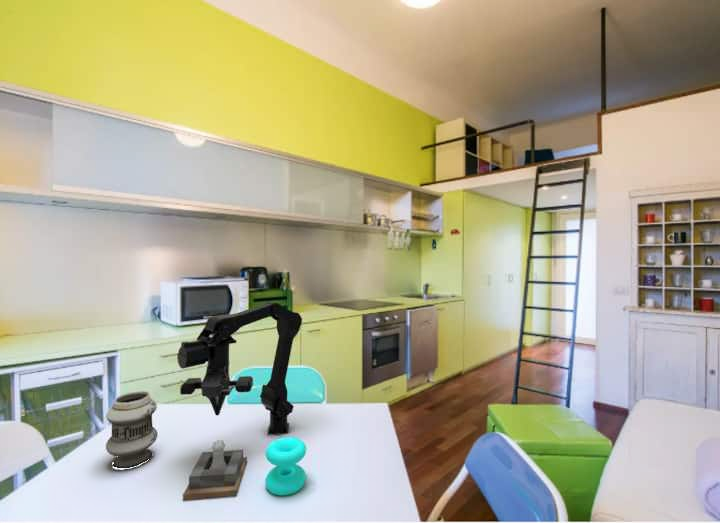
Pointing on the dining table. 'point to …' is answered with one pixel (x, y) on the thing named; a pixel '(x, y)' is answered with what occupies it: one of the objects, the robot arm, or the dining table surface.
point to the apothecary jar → (131, 429)
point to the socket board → (215, 490)
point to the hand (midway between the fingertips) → (217, 414)
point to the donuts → (285, 466)
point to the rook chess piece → (218, 455)
